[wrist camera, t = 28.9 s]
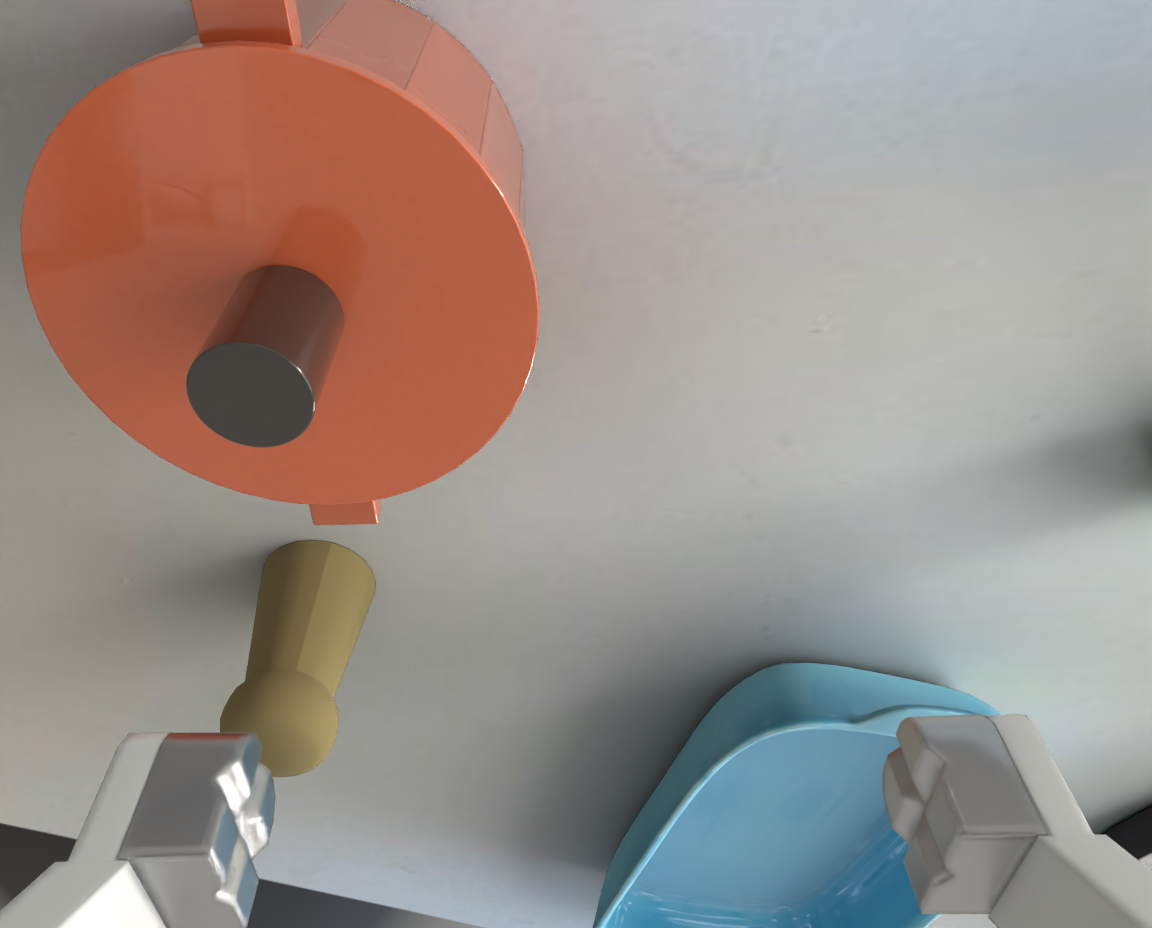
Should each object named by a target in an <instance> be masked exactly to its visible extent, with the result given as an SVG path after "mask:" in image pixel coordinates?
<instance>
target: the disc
mask: <svg viewBox="0 0 1152 928" xmlns="http://www.w3.org/2000/svg"><path fill="white" fill-rule="evenodd" d="M1103 835H1107V836H1108V837H1109V838H1111V839H1112V840H1113V841H1114V842H1116V843H1117V844H1118V845H1119V846H1121V847H1122V848H1123V849H1124V850H1126V851H1127V852H1128V853H1129V854H1131V855H1132V856H1133V857H1134V858H1136V859H1137V860H1138V861H1139V862H1141V863H1142V864H1143V865H1144V866H1146V867H1147V868H1148V869H1149V870H1151V871H1152V807H1150V808H1148V809H1146V810H1144V811H1143V812H1141V813H1139V814H1137V815H1135V816H1133V817H1132V818H1130V819H1128V820H1126V821H1124V822H1122V823H1120V824H1119V825H1117V826H1115V827H1113V828H1112V829H1111V830H1109V831H1108V832H1106V833H1105V834H1103Z"/></svg>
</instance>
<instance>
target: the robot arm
mask: <svg viewBox="0 0 1152 928" xmlns="http://www.w3.org/2000/svg"><path fill="white" fill-rule="evenodd" d="M896 736H897V739H898V742H899V744H900V747H898V748H897V749H895V750H894V751H892V752H891V753H890V754H888V755H887V758H886V761H885V765H884V768H883V771H882V792H883V797H884V803H885V808H886V811H887V814H888V818H889V821H890V824H891V827H892V829H894V830H895V831H896V832H897V833H898V834H899V835H900V836H901V837H902V838H903V839H904V840H905V841H906V842H908V843H909V844H910V845H909V848H908V850H907V853H906V856H905V859H904V861H903V863H904V865H905V868H906V871H907V874H908V877H909V880H910V883H911V886H912V889H913V891H914V894H915V897H916V900H917V903H918V906H919V909H920V912H921V914H990V915H989V917H988V918H989V919H990V920H991V921H992V922H993V923H994V924H995V925H996V927H997V928H1152V871H1151V870H1149V869H1148V868H1147V867H1146V866H1144V865H1143V864H1142V863H1141V862H1139V861H1138V860H1137V859H1136V858H1134V857H1133V856H1132V855H1131V854H1129V853H1128V852H1127V851H1126V850H1124V849H1123V848H1122V847H1121V846H1119V845H1118V844H1117V843H1116V842H1114V841H1113V840H1112V839H1111V838H1109V837H1108V836H1107V835H1100V834H1093V832H1092V830H1091V828H1090V826H1089V825H1088V823H1087V821H1086V819H1085V817H1084V815H1083V813H1082V812H1081V810H1080V808H1079V806H1078V804H1077V802H1076V800H1075V798H1074V797H1073V795H1072V793H1071V791H1070V789H1069V787H1068V785H1067V784H1066V782H1065V780H1064V778H1063V776H1062V774H1061V772H1060V770H1059V769H1058V767H1057V765H1056V763H1055V761H1054V759H1053V757H1052V756H1051V754H1050V752H1049V750H1048V748H1047V746H1046V744H1045V742H1044V741H1043V739H1042V737H1041V735H1040V733H1039V731H1038V729H1037V728H1036V726H1035V724H1034V722H1033V721H1032V720H1030V719H1029V718H1028V717H1027V716H1026V715H1021V714H1007V715H983V716H982V715H981V714H973V715H947V716H921V717H907V718H905V719H904V720H902V721H901V722H900V724H899V727H898V729H897V732H896ZM262 749H263V747H262V745H261V742H260V740H259V737H258V735H257V733H256V732H223V733H173V732H170V733H129V734H128V735H127V736H126V738H125V739H124V740H123V741H122V742H121V743H120V745H119V746H118V747H117V749H116V752H115V754H114V756H113V759H112V761H111V763H110V765H109V768H108V770H107V772H106V775H105V777H104V779H103V781H102V784H101V786H100V788H99V791H98V793H97V795H96V798H95V800H94V802H93V804H92V807H91V809H90V811H89V814H88V816H87V818H86V820H85V823H84V825H83V827H82V830H81V832H80V834H79V836H78V839H77V841H76V843H75V846H74V848H73V850H72V853H71V855H70V857H69V860H68V861H66V862H55V863H53V864H52V865H51V866H50V867H49V868H48V869H47V870H46V871H44V872H43V873H42V874H41V875H40V876H39V877H38V878H37V879H36V880H34V881H33V882H32V883H31V884H30V885H29V886H28V887H27V888H25V889H24V890H23V891H22V892H21V893H20V894H19V895H18V896H16V897H15V898H14V899H13V900H12V901H11V902H10V903H9V904H8V905H6V906H5V907H4V908H3V909H2V910H1V911H0V928H247V924H248V920H249V916H250V912H251V908H252V904H253V901H254V897H255V893H256V889H257V885H258V881H259V878H258V875H257V873H256V870H255V868H254V865H253V863H252V860H253V859H254V858H255V857H256V856H257V855H258V854H259V853H260V852H261V851H262V850H263V849H264V848H265V847H266V846H267V845H268V842H269V837H270V833H271V829H272V825H273V818H274V807H275V789H274V780H273V777H272V774H271V771H270V769H269V768H268V767H266V766H264V765H263V764H261V763H260V762H259V760H260V756H261V752H262Z"/></svg>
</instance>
